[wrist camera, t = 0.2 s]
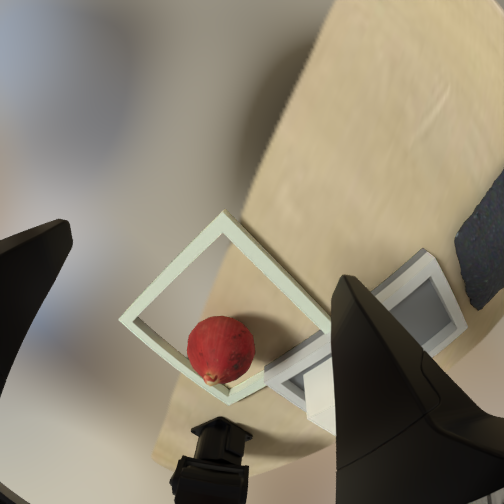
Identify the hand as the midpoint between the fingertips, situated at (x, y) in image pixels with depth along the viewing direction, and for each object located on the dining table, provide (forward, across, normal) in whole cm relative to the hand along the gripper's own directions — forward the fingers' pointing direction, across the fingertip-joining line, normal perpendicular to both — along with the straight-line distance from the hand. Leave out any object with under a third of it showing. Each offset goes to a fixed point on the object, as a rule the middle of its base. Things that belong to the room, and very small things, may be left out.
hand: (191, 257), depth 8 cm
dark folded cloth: (+16, -30, -2) cm, 34 cm away
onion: (+12, -1, +16) cm, 20 cm away
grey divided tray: (+12, -16, +16) cm, 25 cm away
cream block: (+10, -13, +19) cm, 25 cm away
